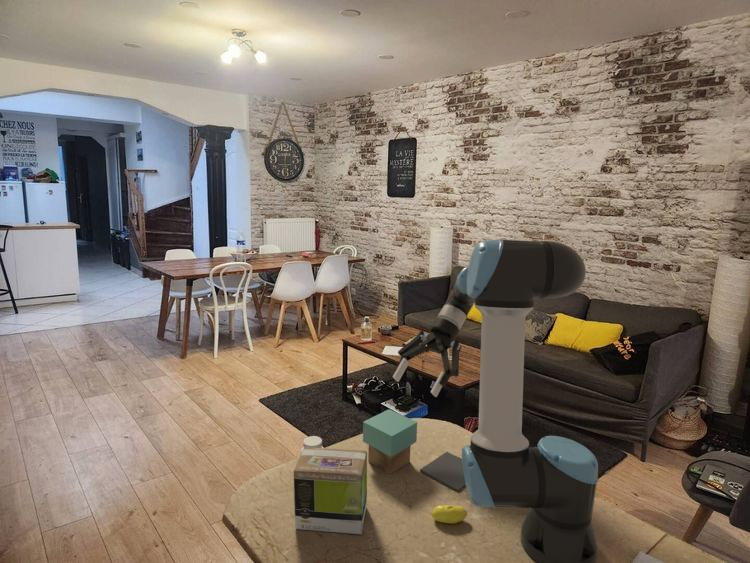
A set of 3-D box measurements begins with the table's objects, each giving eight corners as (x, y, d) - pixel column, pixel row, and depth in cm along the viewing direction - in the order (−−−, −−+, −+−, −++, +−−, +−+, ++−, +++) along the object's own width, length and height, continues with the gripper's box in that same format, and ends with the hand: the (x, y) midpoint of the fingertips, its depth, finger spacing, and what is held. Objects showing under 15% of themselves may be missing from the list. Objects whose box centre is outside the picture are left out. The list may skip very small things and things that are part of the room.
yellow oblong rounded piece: (431, 513, 114) (431, 499, 113) (465, 515, 114) (466, 500, 113) (432, 526, 110) (433, 511, 109) (468, 528, 110) (469, 513, 109)
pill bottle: (317, 469, 130) (317, 431, 127) (329, 481, 125) (329, 442, 122) (296, 478, 126) (295, 438, 124) (308, 490, 121) (307, 450, 119)
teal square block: (416, 441, 133) (417, 422, 132) (391, 456, 126) (391, 436, 124) (388, 428, 140) (388, 409, 138) (362, 441, 132) (363, 421, 131)
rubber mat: (484, 471, 130) (484, 469, 130) (458, 492, 122) (458, 489, 122) (446, 453, 138) (446, 451, 138) (420, 471, 130) (420, 469, 130)
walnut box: (409, 461, 134) (411, 424, 132) (390, 474, 128) (391, 435, 126) (388, 450, 139) (389, 414, 137) (368, 461, 134) (368, 424, 131)
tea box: (367, 506, 116) (368, 449, 113) (361, 536, 106) (363, 475, 103) (304, 500, 118) (304, 444, 114) (293, 530, 108) (292, 470, 105)
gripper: (489, 341, 138) (456, 407, 131) (420, 321, 155) (386, 379, 148) (480, 327, 134) (445, 395, 126) (410, 308, 150) (375, 367, 143)
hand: (413, 387), depth 137 cm, fingers open, 13 cm apart
